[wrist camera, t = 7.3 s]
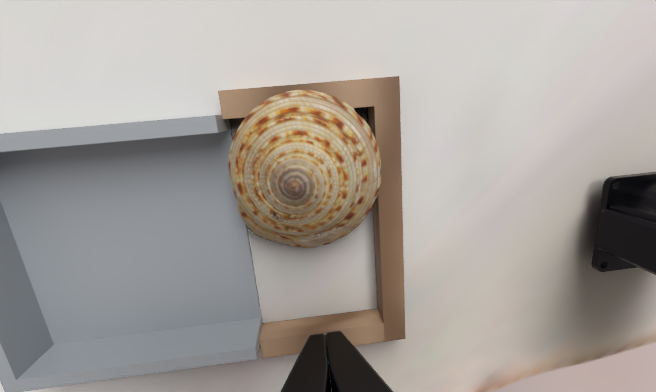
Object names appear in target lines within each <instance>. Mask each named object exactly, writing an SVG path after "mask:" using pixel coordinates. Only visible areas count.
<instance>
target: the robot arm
mask: <svg viewBox="0 0 656 392" xmlns="http://www.w3.org/2000/svg"><path fill="white" fill-rule="evenodd" d="M614 183H615V184H614ZM613 185H614V186H613ZM592 267H593V268H595V269H596V270H598V271H600V272H605V271H613V270H621V269H628V268H636V267H639V268H642V269H644V270H646V271H648V272H650V273H653V274H655V275H656V172H651V173H641V174H632V175H623V176H613V177H609V178H608V179H606V181H605V182H604V185H603V191H602V198H601V205H600V211H599V218H598V225H597V231H596V238H595V245H594V251H593V258H592ZM326 344H327V346H326ZM327 353H328V355H327ZM328 362H329V364H328ZM329 371H330V373H329ZM330 380H331V382H330ZM331 389H332V391H331ZM281 392H393V391H392V390H391V389H390V387H389V386H388V385H387V384H386V383H385V382H384V380H383V379H382V378H381V377H380V376H379V375H378V373H377V372H376V371H375V370H374V369H373V368H372V366H371V365H370V364H369V363H368V362H367V361H366V359H365V358H364V357H363V356H362V355H361V354H360V352H359V351H358V350H357V349H356V348H355V347H354V346H353V344H352V343H351V342H350V341H349V340H348V339H347V337H346V336H345V335H344V334H343V333H342V332H341V331H333V332H327V333H326V337H325V334H324V333H318V334H311V335H310V336H309V337H308V339H307V341H306V343H305V345H304V347H303V349H302V350H301V352H300V354H299V356H298V358H297V360H296V362H295V364H294V366H293V368H292V370H291V372H290V374H289V376H288V378H287V380H286V382H285V384H284V386H283V388H282V390H281Z"/></svg>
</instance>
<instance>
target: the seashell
mask: <svg viewBox="0 0 656 392" xmlns="http://www.w3.org/2000/svg"><path fill="white" fill-rule="evenodd" d="M228 166H229V175H230V180H231V184H232V188H233V191H234V194H235V197H236V199H237V201H238V202H239V203H238V211H239V213H240V214H241V218H242V219H243V221H244V222H245V224H246V225H247V227H248V228H249V229H250V230H251V231H252V232H253V233H254V234H256V235H258V236H260V237H262V238H265V239H268V240H271V241H275V242H280V243H285V244H288V245H290V246H296V247H304V248H312V247H316V246H319V245H325V244H329V243H331V242H333V241H335V240H337V239H340V238H342V237H344V236H345V235H347V234H348V233H350V232H351V231H352V230H353V229H355V228H356V227H357V226H358V225H359V224H360V223H361V222H362V221H363V219H364V218H365V217H366V216H367V214H368V212H369V211H370V209H371V208H372V206H373V204H374V202H375V200H376V198H377V195H378V191H379V188H380V184H381V159H380V152H379V147H378V144H377V142H376V139H375V137H374V135H373V132H372V130H371V128H370V127H369V125H368V124H367V122H366V121H365V119H363V118H362V117H361V116H360V115H359V114H358V113H356V111H355V110H354V108H353V107H352V106H350V105H349V104H347V103H346V102H344V101H342V100H340V99H338V98H337V97H334V96H332V95H329V94H326V93H323V92H318V91H312V90H293V91H287V92H283V93H280V94H277V95H275V96H273V97H270V98H269V99H267V100H265V101H263V102H262V103H260V104H259V105H258V106H257V107H255V108H254V109H253V110H252V111H251V112H250V113H249V114H248V115H247V116H246V117H245V119H244V120H243V121H242V123H241V125H240V126H239V128H238V129H237V131H236V133H235V135H234V138H233V141H232V144H231V148H230V152H229V163H228Z"/></svg>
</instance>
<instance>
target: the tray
mask: <svg viewBox="0 0 656 392" xmlns="http://www.w3.org/2000/svg"><path fill="white" fill-rule="evenodd" d="M232 141H233V138H232V132H231V126H230V120H229V119H223V117H222V115H215V116H203V117H192V118H180V119H168V120H157V121H145V122H133V123H122V124H110V125H98V126H86V127H75V128H63V129H51V130H40V131H28V132H16V133H5V134H0V381H1V384H2V386H3V388H4V391H5V392H23V391H30V390H37V389H45V388H52V387H59V386H66V385H74V384H81V383H88V382H96V381H103V380H110V379H117V378H125V377H132V376H139V375H147V374H154V373H161V372H168V371H176V370H183V369H190V368H198V367H205V366H212V365H219V364H227V363H234V362H241V361H249V360H256V359H257V358H258V352H259V346H260V335H261V329H262V318H261V312H260V306H259V299H258V293H257V287H256V281H255V275H254V268H253V262H252V256H251V250H250V244H249V237H248V231H247V225H246V224H245V222H244V221H243V219H242V218H241V214H240V213H239V211H238V203H239V202H238V201H237V199H236V197H235V194H234V191H233V188H232V184H231V180H230V175H229V166H228V163H229V152H230V148H231V144H232Z"/></svg>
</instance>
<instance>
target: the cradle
mask: <svg viewBox="0 0 656 392" xmlns="http://www.w3.org/2000/svg"><path fill="white" fill-rule="evenodd" d="M293 90H312V91H318V92H323V93H326V94H329V95H332V96H334V97H337V98H338V99H340V100H342V101H344V102H346V103H347V104H349V105H350V106H352V107H353V108H360V107H368V118H369V127H370V128H371V130H372V132H373V135H374V137H375V139H376V142H377V144H378V147H379V152H380V159H381V184H380V188H379V191H378V195H377V198H376V200H375V202H374V204H373V221H374V242H375V263H376V283H377V304H378V309H371V310H363V311H356V312H348V313H340V314H333V315H325V316H317V317H310V318H302V319H294V320H286V321H279V322H271V323H263V324H262V329H261V335H260V345H261V351H262V357H263V358H268V357H276V356H283V355H290V354H298V353H300V352H301V350H302V349H303V347H304V345H305V343H306V341H307V339H308V337H309V336H310V335H311V334H318V333H324V334H325V337H326V333H327V332H333V331H341V332H342V333H343V334H344V335H345V336H346V337H347V339H348V340H349V341H350V342H351V343H352V344H353V346H356V345H363V344H370V343H378V342H385V341H392V340H400V339H405V308H404V264H403V220H402V175H401V131H400V87H399V76H398V77H385V78H373V79H361V80H348V81H336V82H323V83H311V84H298V85H286V86H274V87H261V88H249V89H236V90H224V91H218V93H219V99H220V105H221V111H222V117H223V119H232V118H244V117H246V116H247V115H248V114H249V113H250V112H251V111H252V110H253V109H254V108H255V107H257V106H258V105H259V104H260V103H262V102H263V101H265V100H267V99H269V98H270V97H273V96H275V95H277V94H280V93H283V92H287V91H293ZM326 346H327V344H326Z"/></svg>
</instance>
